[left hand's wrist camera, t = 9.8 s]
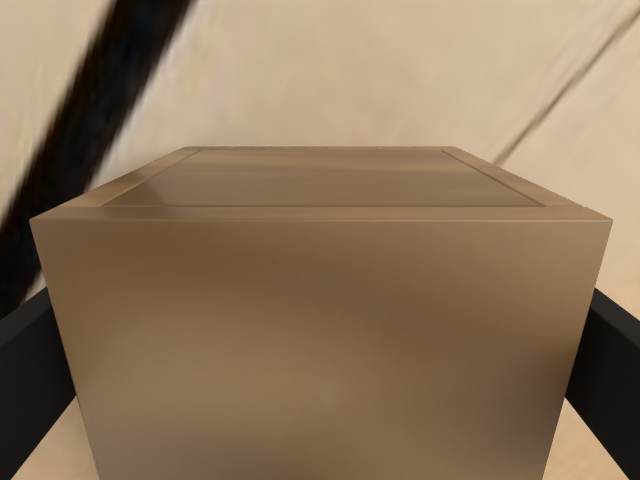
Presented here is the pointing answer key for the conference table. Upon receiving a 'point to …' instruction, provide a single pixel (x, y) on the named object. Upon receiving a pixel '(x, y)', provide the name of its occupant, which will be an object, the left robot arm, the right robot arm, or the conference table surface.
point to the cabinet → (320, 314)
